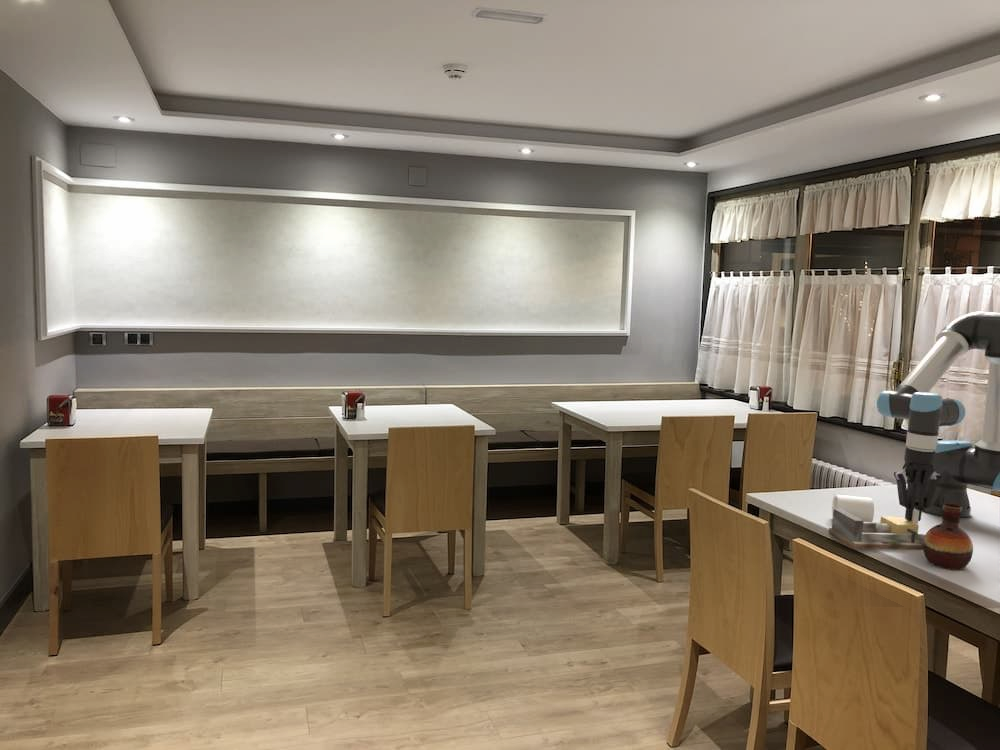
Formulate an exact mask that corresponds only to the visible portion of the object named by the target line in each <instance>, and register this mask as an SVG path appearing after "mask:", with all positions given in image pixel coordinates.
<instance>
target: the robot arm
mask: <svg viewBox="0 0 1000 750" xmlns="http://www.w3.org/2000/svg"><path fill="white" fill-rule="evenodd" d="M970 350H981V351H982V350H983V351H984V358H985V359H987V361H988V362H989V367H988V376H987V386H986V394H985V403H984V414H983V423H982V435H981V439H980V440H978V441H977V442H976V443H974V444H975V445H973V443H972V442H971V441H968V440H954V439H953V440H949V439H948V440H945V439H944V440H941V439H940V440H939V430H940V427H946V426H947V427H952V426H955V425H957V424H960V423H961V422H962V421H963V420H964V419H965V416H966V408H965V406H964V404H963V403H962V402H961V401H960V400H958V399H955V398H949V397H946V398H943V397H942V395H941V394H940V393H934V392H930V391H931V390H932V389H933V388H934V387H935V386H936V384H937V383H938V382H939V380H941V379H942V377H943V376H944V375H945V374H946V372H948V370H949V369H950V367H951V366H953V364H954V363H955V362H956V360H957V359H958V358H959V357H963V356H964V355H966V354H967V353H968V352H969V351H970ZM876 400H877V401H876V408H877V411H878V414H880V415H882V416H886V417H890V418H892V419H893V418H894V419H902V420H906V421H907V420H908V423H907V432H906V440H905V441H906V442H905V446H906V448H905V449H904V457H903V460H904V464H903V466H902V469H901V470H900V471H898V472H897V471H894V472H893V476H894V478H895V479H896V480H895V481H896V487H897V496H898V502H899V503H898V504H899V505H900V506H902V507H904V508H905V515H904V519H906V520H908V521H911V522H913V523H915V524H917V525H919V522H921V520H922V513H923V512H925V513H928V514H933V515H938V516H942V517H943V504H946V503H948V504H955V505H959V506H961V507H962V510H961V514H960V518H968V517H970V516H971V513H972V512H971V511H972V510H971V509H972V508H971V504H970V499H969V495H968V485H970V486H975V487H979V488H982V489H986V490H992V491H994V492H1000V312H997V311H982V310H981V311H973V312H970V313H967V314H965V315H961V316H960V317H958V318H956V319H954V320H953V321H951V322H950V323H948V324H947V325H946V326H944V327H943V328H942V329H941V331H940V332H939V333H938V334H937V335H936V337H935V343H934V344H933V345H932V346H931V347H930V349H929V350H928V351H927V353H925V354H924V356H923V357H922V358H921V360H919V362H918V363H917V364H916V365H915V367H914V368H913V369H911V371H910V372H909V373H908V374H907V376H906V377H905V378H904V379H903V380H902V382H901V383H900V384H899V385H898V386H897V387H896V388H895V389H894V391H893V390H884V391H882V392H881V393H880V394H879V395H878V397H877V399H876ZM973 446H974V447H973Z"/></svg>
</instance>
